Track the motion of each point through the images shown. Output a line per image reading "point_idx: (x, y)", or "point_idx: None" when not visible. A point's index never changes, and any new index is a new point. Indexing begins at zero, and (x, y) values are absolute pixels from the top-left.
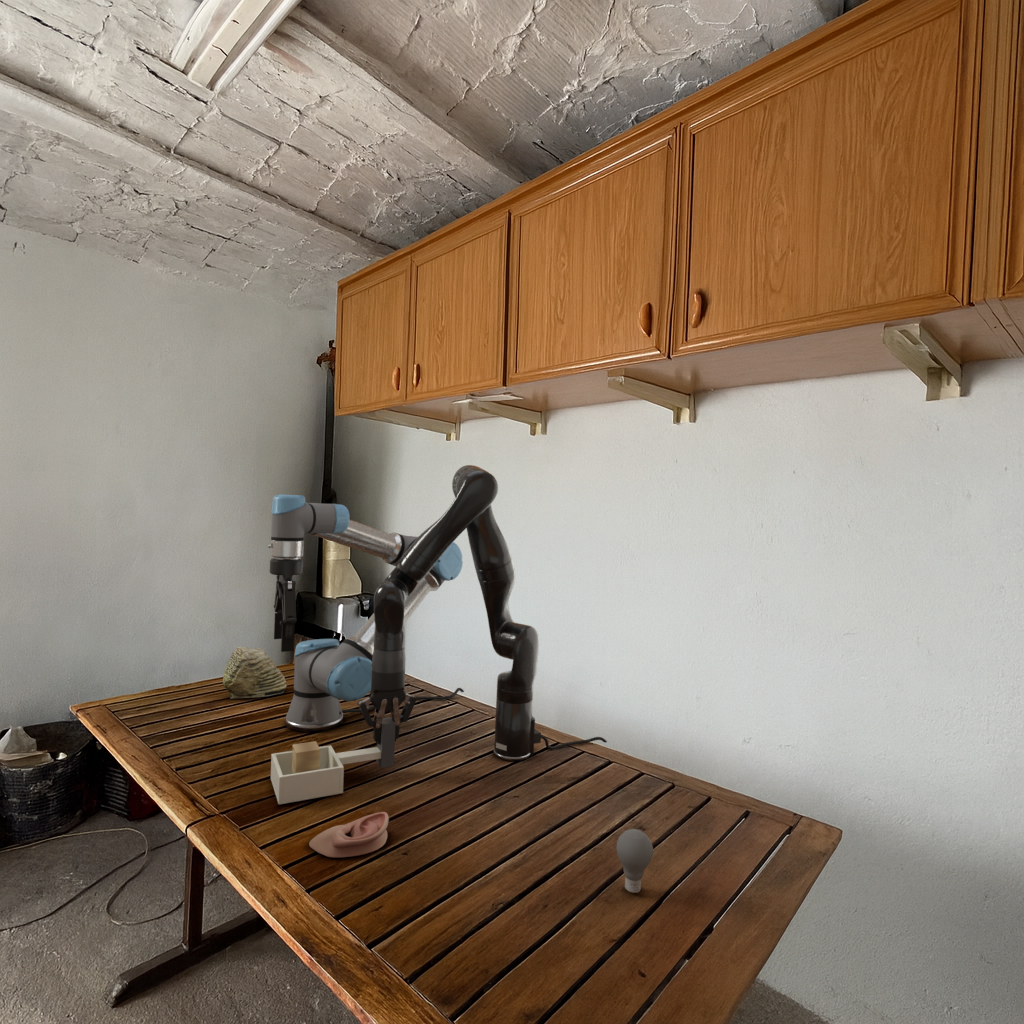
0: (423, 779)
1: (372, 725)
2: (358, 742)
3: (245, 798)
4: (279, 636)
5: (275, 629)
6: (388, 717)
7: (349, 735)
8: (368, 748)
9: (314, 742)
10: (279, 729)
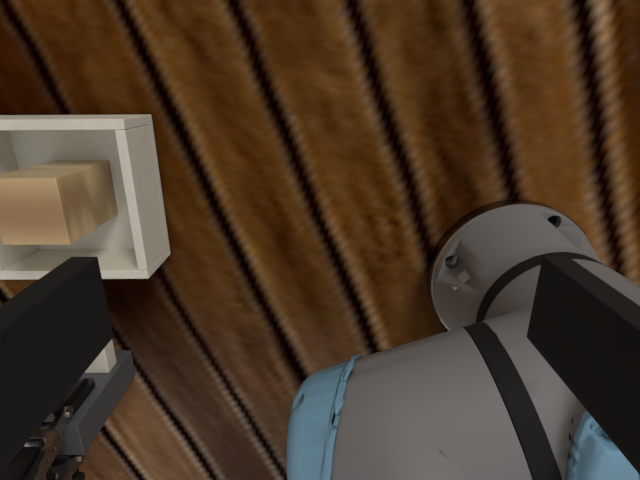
0: None
1: None
2: (321, 340)
3: (61, 42)
4: (545, 305)
5: (593, 305)
6: (81, 450)
7: (373, 331)
8: (102, 353)
9: (60, 239)
10: (498, 179)
